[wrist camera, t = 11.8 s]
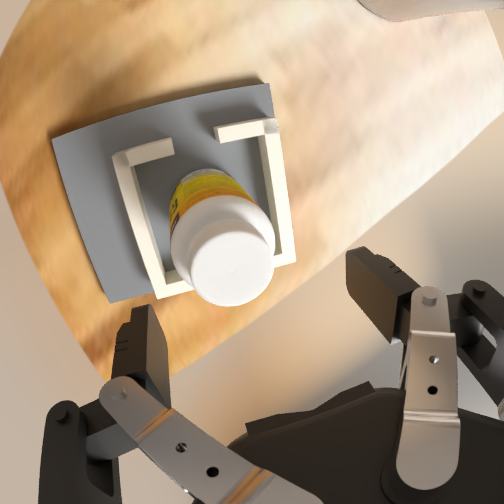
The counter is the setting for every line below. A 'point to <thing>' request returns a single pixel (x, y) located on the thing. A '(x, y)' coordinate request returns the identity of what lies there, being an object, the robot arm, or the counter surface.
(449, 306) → the robot arm
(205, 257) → the supplement bottle
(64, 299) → the counter surface
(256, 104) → the grey board with frame
